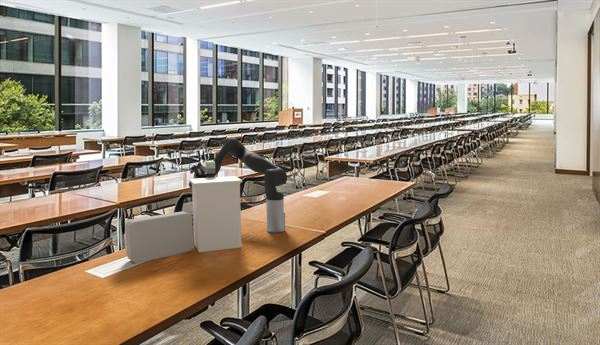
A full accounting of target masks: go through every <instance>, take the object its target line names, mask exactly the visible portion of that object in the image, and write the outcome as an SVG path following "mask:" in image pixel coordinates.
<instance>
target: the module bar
mask: <svg viewBox="0 0 600 345" xmlns="http://www.w3.org/2000/svg"><path fill="white" fill-rule="evenodd" d="M200 168H201V169H202V170H203V171H205V172H206V173H207V174H208V173H215V162H214V161H213V160H207V161H205V162H201V167H200Z"/></svg>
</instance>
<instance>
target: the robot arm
mask: <svg viewBox="0 0 600 345" xmlns="http://www.w3.org/2000/svg"><path fill="white" fill-rule="evenodd" d="M228 154H229V155H231V156H232V157H233V158H235V159H237V160H238V161H239V160H240V161H241V162H243V164H244V165H245V166H246V167H247V168H248V169H250V171H253V172H255V173H257V174H261V175H263V180H264V181H263V182H264V183H263V184H264V194H265V197H266V199H265V200H266V202H265V203H266V204H265V206H266V231H267V232H268V233H281V232H284V231H285V232H286V213H285V208H284V207H285V206H284V205H285V202H284V201H285V200H284V199H285V198H284V197H285V196H284V193H283V192H280V191H278V190H277V187H278V186H279V187H281V186H283V185H285V184H287V181H288V175H287V172H286V171H285V170H284V169H283V168H282V167H280V166H277V165H276V164H273V163H272V162H270V161H268V160H267V159H265V158H264V157H262V156H261V155H259V153H256V152H254V151H251V150H249V149H248V148H246V147H245V145H244V144H243V143H242V142H240V141H239V139H237V138H236V137H230V138H229V139H227V140H226V141H225V143H224V144H223V145H222V147H221V148H220V150H219V151H218V153H217V155H215V157H214V159H213V160H212V161H214V162H215V173H208V174H207V173H206V172H205V171H203V170H202V169H201V168H200V167H201V163H202V162H200V161H199V162H197V165H193V166H192V167H190V168H189V174H190V175H191V174H193V178H192V179H197V178H214V177H216V176H217V175H218V174H219V172H220V171H221V168H222V164H223V161H224V159H225V158H226V157H227V155H228ZM188 186H189V188H190V189H191V190H192V183H191V182H190V181H189V182H188Z"/></svg>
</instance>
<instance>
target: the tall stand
mask: <svg viewBox="0 0 600 345" xmlns="http://www.w3.org/2000/svg"><path fill="white" fill-rule="evenodd" d="M189 182H191V183H192V189H191V191H192V192H191V195H192V196H191V197H192V224H193V246H194V247H195V249H196V251H197V252H198V253H207V252H213V251H222V250H229V249H230V250H231V249H240V248H242V247H243V246H242V216H241V214H242V213H241V183H243V179H241V178H239V177H238V176H236V175H235V176H234V175H232V176H231V175H230V176H217V177H216V176H215V177H214V178H197V179H193V178H189Z"/></svg>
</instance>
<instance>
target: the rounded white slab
mask: <svg viewBox="0 0 600 345" xmlns="http://www.w3.org/2000/svg"><path fill="white" fill-rule="evenodd" d="M124 228H125V230H124V231H125V245H126V246H125V247H126V256H127V258H128V260H130V261H131V262H132V263H135V264H138V263H143V262H147V261H152V260H153V261H154V260H157V259H161V258H165V257H170V256H176V255H180V254H184V253H189V252H192V249H194V248H193V247H194V223H193V215H192V214H190V213H188V212H186V211H178V212H177V211H176V212H170V213H165V214H158V215H152V216H146V217H145V216H144V217H140V218H133V219H129V220H127V221H126V223H125V225H124Z"/></svg>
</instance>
